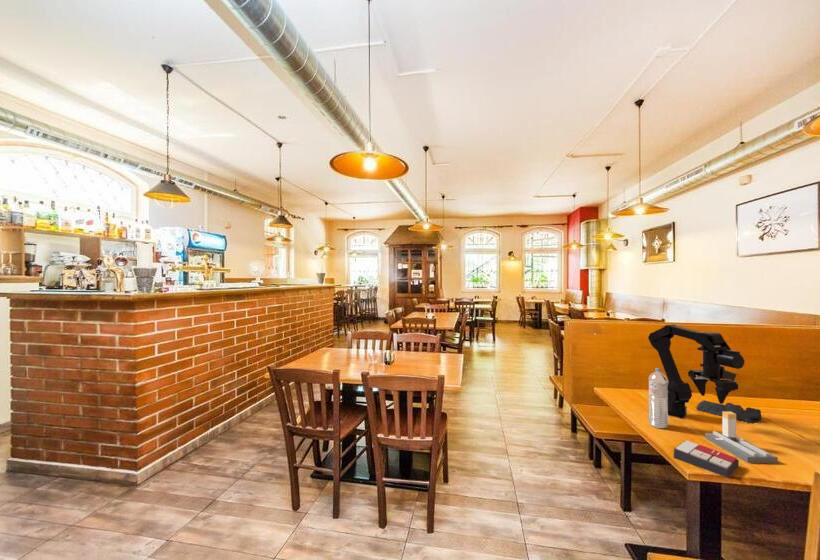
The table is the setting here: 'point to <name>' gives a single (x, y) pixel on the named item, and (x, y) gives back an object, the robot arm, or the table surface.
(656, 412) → the water bottle
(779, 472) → the table surface
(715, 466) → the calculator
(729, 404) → the dark slate chunk
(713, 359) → the robot arm
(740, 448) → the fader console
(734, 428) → the fader tab
